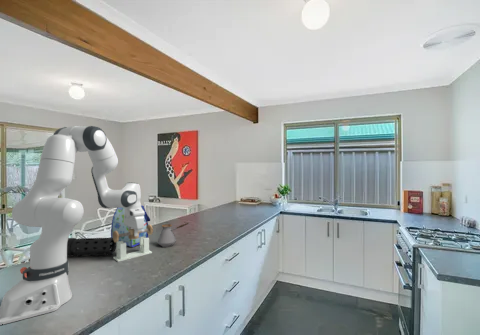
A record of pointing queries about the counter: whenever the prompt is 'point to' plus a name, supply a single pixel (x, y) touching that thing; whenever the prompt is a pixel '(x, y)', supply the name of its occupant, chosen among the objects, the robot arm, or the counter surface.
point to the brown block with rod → (130, 233)
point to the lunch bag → (121, 228)
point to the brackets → (143, 251)
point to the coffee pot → (168, 235)
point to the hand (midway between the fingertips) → (133, 234)
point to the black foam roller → (90, 246)
